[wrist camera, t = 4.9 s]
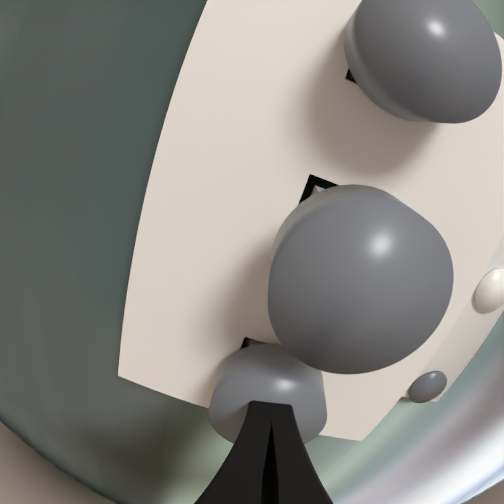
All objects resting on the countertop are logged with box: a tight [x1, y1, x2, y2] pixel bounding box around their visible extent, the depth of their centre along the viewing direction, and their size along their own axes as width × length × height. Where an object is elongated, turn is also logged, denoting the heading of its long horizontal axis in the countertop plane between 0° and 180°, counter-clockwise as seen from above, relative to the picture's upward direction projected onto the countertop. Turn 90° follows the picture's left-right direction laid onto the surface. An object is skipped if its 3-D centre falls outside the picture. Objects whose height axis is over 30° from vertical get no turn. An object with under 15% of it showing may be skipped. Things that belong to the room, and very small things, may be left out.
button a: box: [344, 0, 502, 124], centre depth 7 cm, size 4×4×4 cm
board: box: [118, 0, 504, 441], centre depth 11 cm, size 12×18×2 cm, turn 161°
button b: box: [268, 184, 454, 375], centre depth 8 cm, size 4×4×4 cm
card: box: [402, 233, 504, 403], centre depth 12 cm, size 3×14×1 cm, turn 161°
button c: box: [208, 337, 327, 444], centre depth 12 cm, size 4×4×4 cm
